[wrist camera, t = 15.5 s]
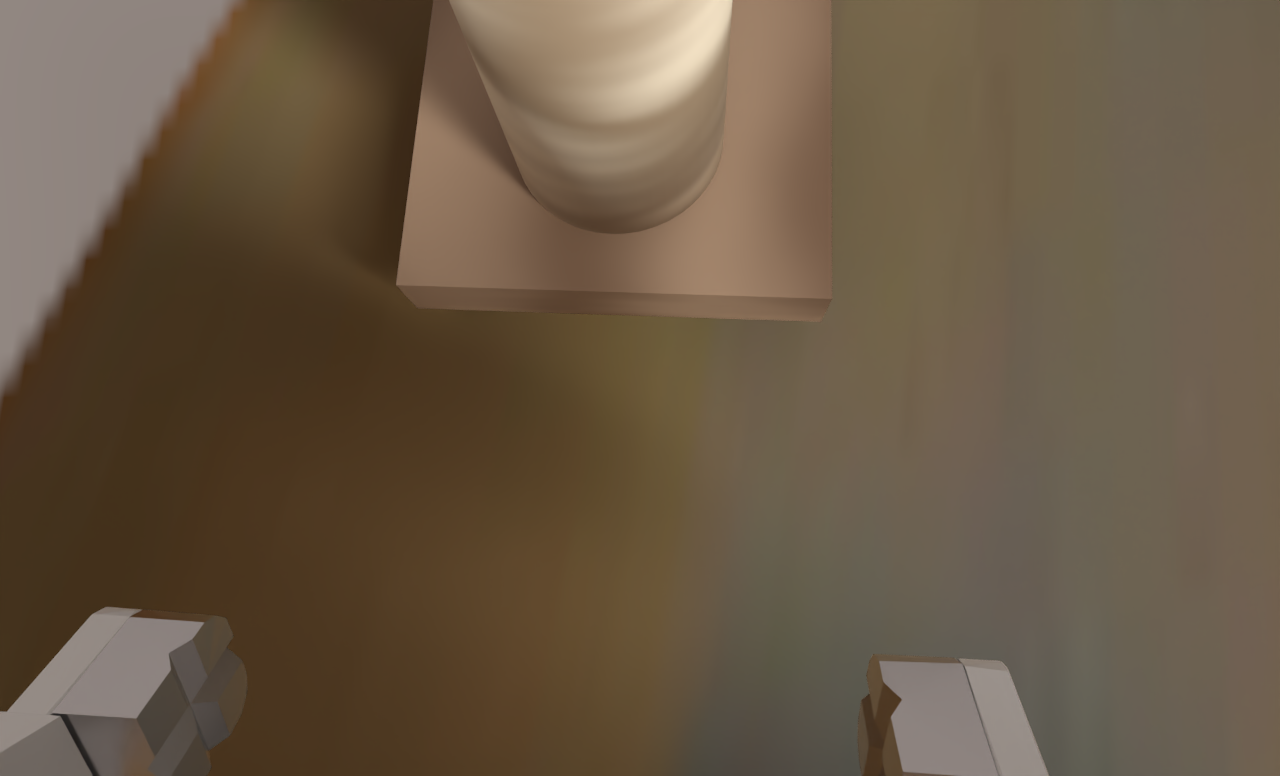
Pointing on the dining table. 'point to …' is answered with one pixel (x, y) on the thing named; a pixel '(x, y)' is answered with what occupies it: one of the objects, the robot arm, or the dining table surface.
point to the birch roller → (606, 101)
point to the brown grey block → (653, 258)
